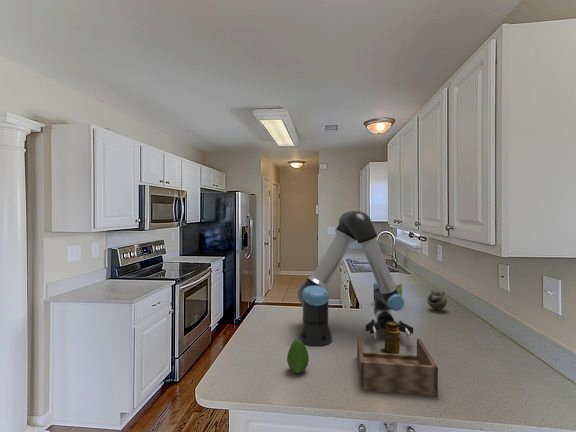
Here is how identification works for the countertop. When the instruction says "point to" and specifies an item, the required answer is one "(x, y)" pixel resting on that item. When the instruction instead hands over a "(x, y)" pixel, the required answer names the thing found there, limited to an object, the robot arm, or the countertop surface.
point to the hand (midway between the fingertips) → (392, 336)
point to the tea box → (398, 287)
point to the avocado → (297, 356)
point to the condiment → (392, 339)
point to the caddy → (398, 371)
